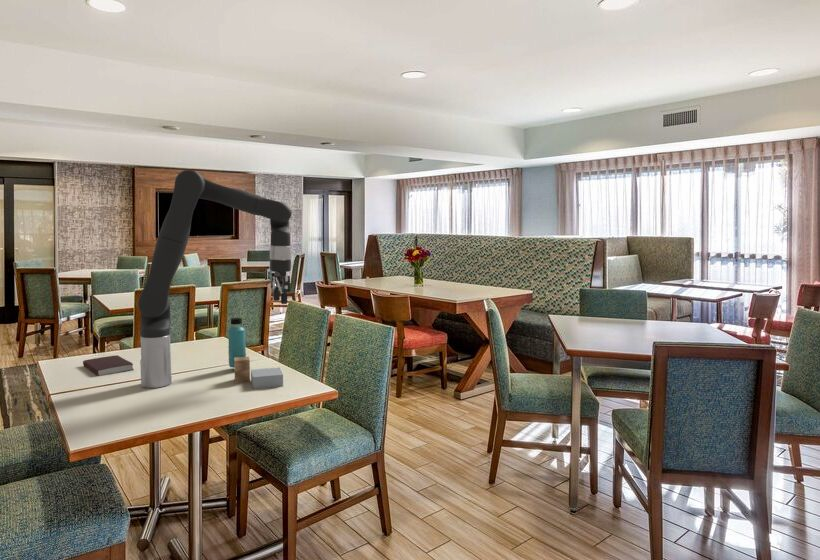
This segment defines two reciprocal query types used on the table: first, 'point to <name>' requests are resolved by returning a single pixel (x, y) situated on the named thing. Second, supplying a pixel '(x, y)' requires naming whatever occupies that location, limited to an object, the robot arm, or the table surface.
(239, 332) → the beverage bottle
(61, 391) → the table surface
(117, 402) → the table surface
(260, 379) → the base plinth
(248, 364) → the walnut block
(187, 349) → the table surface
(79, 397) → the table surface
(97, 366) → the book
